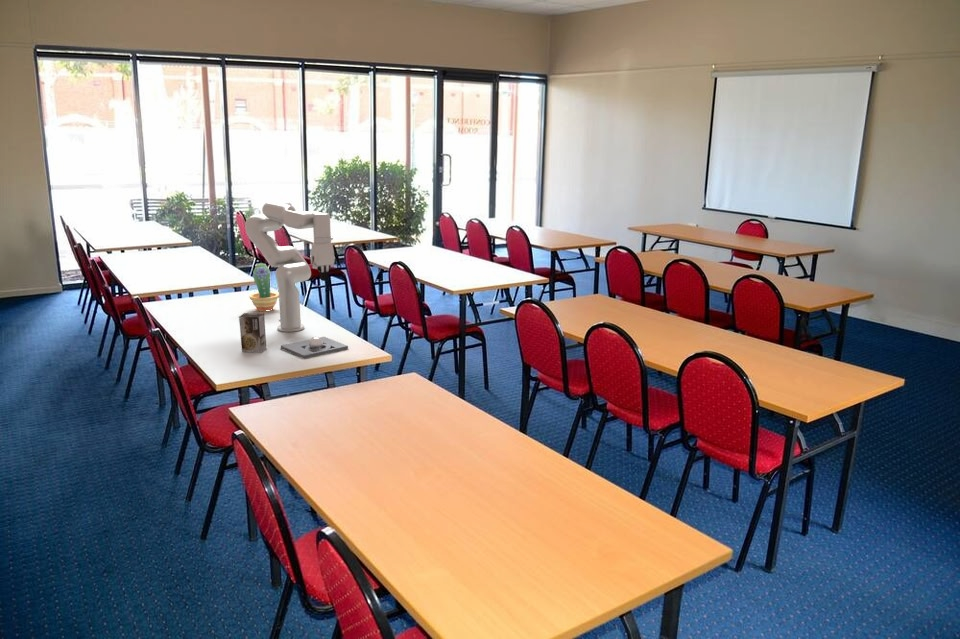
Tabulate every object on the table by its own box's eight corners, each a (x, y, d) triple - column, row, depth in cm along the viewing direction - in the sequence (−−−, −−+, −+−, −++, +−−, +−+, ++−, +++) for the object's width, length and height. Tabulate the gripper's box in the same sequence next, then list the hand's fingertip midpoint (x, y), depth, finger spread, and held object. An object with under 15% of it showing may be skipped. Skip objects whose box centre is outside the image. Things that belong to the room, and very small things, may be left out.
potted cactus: (244, 311, 388) (240, 265, 382) (260, 305, 403) (257, 260, 396) (269, 314, 384) (266, 267, 378) (285, 307, 398) (283, 262, 392)
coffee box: (267, 348, 323) (264, 313, 319) (261, 353, 317) (259, 316, 313) (247, 347, 324) (244, 312, 320) (241, 352, 318) (238, 316, 314)
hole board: (280, 348, 324) (280, 345, 323) (324, 339, 338) (324, 336, 338) (303, 358, 310) (303, 355, 309) (348, 349, 324) (348, 345, 324)
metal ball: (310, 338, 317) (313, 352, 318) (323, 335, 320) (326, 348, 321) (305, 338, 322) (308, 351, 323) (318, 335, 325) (321, 348, 326)
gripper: (332, 238, 339) (333, 277, 343) (303, 240, 329) (305, 281, 333) (341, 239, 334) (342, 279, 338) (312, 242, 324) (313, 283, 328)
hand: (323, 280), depth 336 cm, fingers closed
